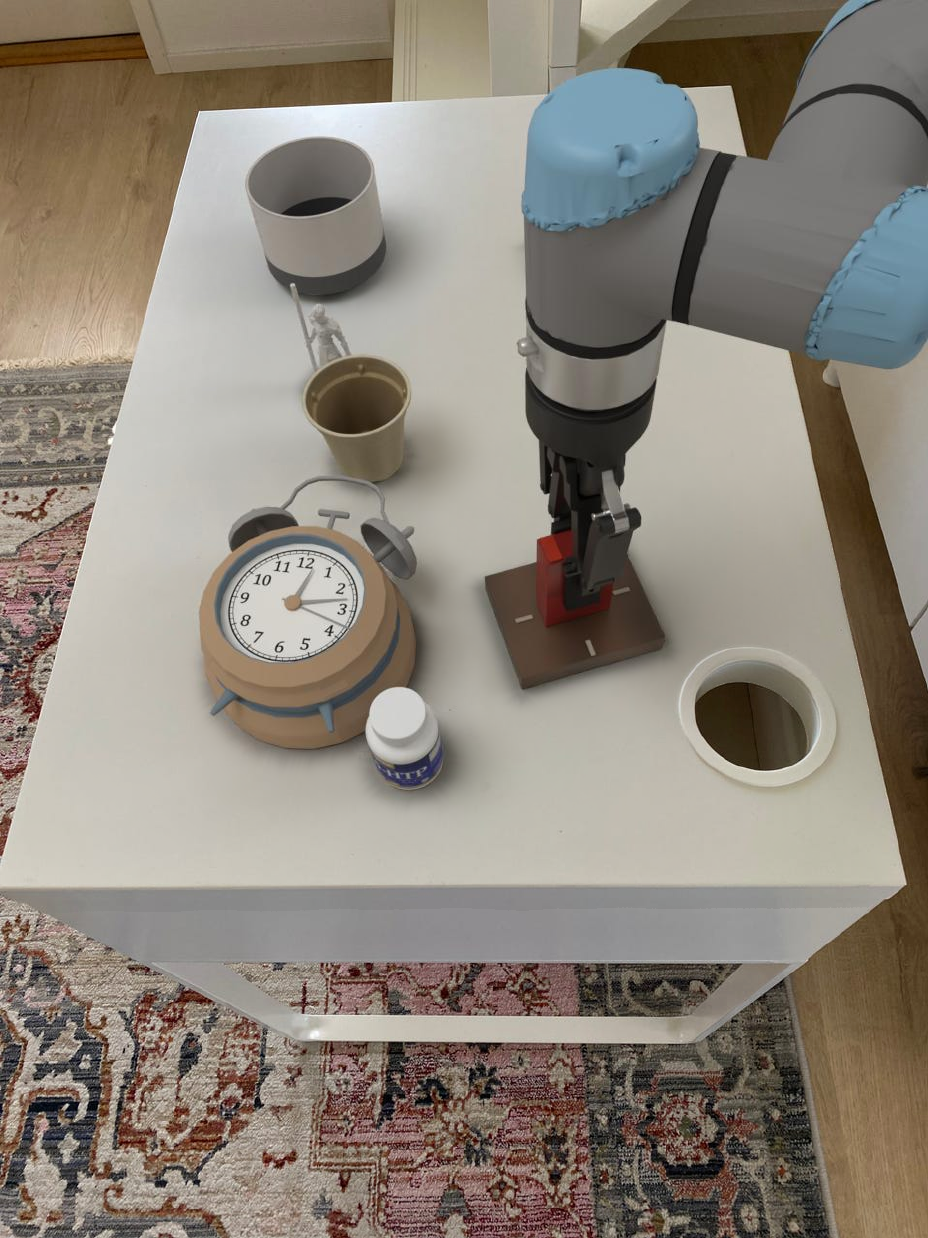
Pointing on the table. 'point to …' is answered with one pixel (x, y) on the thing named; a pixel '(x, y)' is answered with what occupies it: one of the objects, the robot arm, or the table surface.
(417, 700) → the pill bottle
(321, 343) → the figurine
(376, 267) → the planter
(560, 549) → the red rectangular block
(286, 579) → the alarm clock
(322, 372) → the flower pot
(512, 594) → the base plate
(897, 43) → the robot arm
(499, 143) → the table surface
